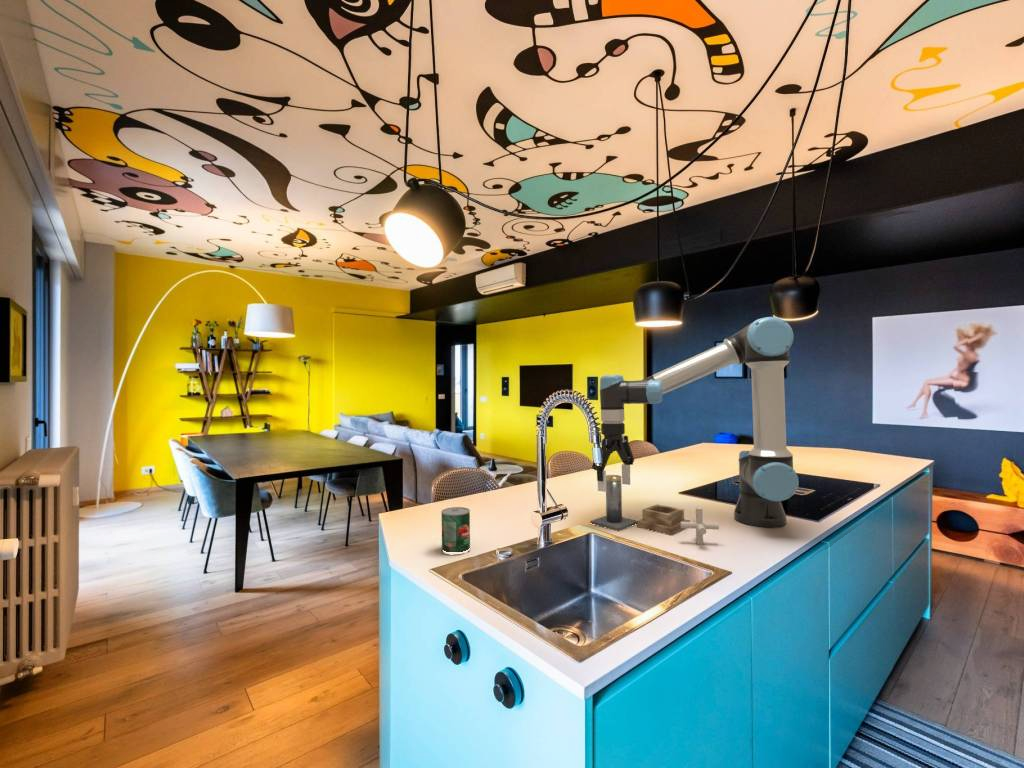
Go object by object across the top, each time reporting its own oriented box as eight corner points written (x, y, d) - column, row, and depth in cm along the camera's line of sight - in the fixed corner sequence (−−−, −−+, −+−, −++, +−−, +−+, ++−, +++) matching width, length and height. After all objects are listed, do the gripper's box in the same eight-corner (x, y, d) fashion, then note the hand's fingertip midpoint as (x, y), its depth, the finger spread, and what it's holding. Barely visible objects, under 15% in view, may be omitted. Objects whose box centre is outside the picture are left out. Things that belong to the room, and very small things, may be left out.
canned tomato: (471, 554, 126) (470, 513, 126) (441, 556, 124) (441, 515, 124) (469, 544, 133) (468, 506, 134) (441, 546, 132) (441, 507, 132)
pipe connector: (722, 550, 126) (722, 513, 126) (683, 548, 128) (683, 512, 128) (714, 538, 136) (713, 504, 136) (678, 536, 138) (677, 503, 138)
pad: (638, 523, 151) (638, 520, 151) (618, 531, 144) (618, 528, 144) (609, 517, 159) (609, 514, 159) (590, 524, 152) (590, 520, 152)
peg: (625, 520, 151) (624, 476, 151) (616, 523, 148) (615, 478, 148) (612, 517, 155) (611, 474, 155) (603, 520, 152) (602, 476, 152)
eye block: (690, 526, 147) (690, 509, 147) (671, 535, 139) (671, 517, 139) (655, 519, 156) (655, 502, 156) (636, 527, 148) (636, 509, 148)
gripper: (624, 419, 163) (626, 480, 163) (579, 424, 146) (581, 492, 146) (643, 420, 157) (645, 482, 157) (599, 425, 140) (601, 496, 140)
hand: (614, 487), depth 151 cm, fingers open, 13 cm apart
